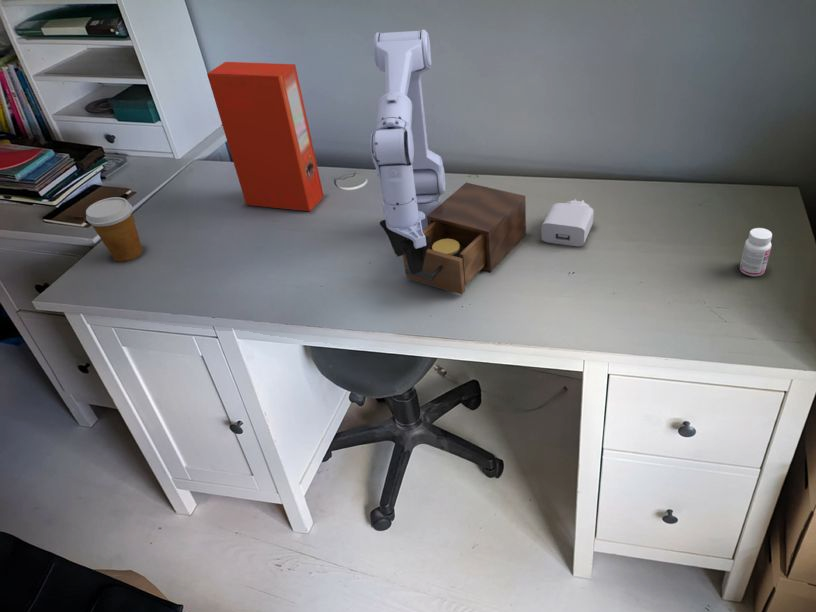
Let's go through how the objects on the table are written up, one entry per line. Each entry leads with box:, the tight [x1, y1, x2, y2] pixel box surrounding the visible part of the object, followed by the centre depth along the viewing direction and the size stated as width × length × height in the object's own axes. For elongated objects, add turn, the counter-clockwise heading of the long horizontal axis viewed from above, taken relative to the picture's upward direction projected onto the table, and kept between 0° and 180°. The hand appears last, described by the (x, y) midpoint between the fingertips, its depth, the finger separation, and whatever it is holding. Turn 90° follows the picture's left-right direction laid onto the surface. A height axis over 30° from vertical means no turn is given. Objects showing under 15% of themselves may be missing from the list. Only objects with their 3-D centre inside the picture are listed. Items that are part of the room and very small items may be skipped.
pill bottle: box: [739, 227, 773, 277], centre depth 136 cm, size 5×5×8 cm
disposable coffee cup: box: [85, 196, 143, 263], centre depth 155 cm, size 10×10×12 cm
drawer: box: [402, 221, 487, 295], centre depth 141 cm, size 19×13×8 cm
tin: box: [432, 239, 460, 258], centre depth 141 cm, size 6×6×5 cm
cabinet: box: [427, 182, 527, 273], centre depth 149 cm, size 16×15×10 cm
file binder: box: [206, 61, 324, 212], centre depth 163 cm, size 8×17×32 cm, turn 73°
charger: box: [541, 198, 595, 247], centre depth 154 cm, size 5×9×15 cm
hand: (409, 263), depth 130 cm, fingers open, 6 cm apart
